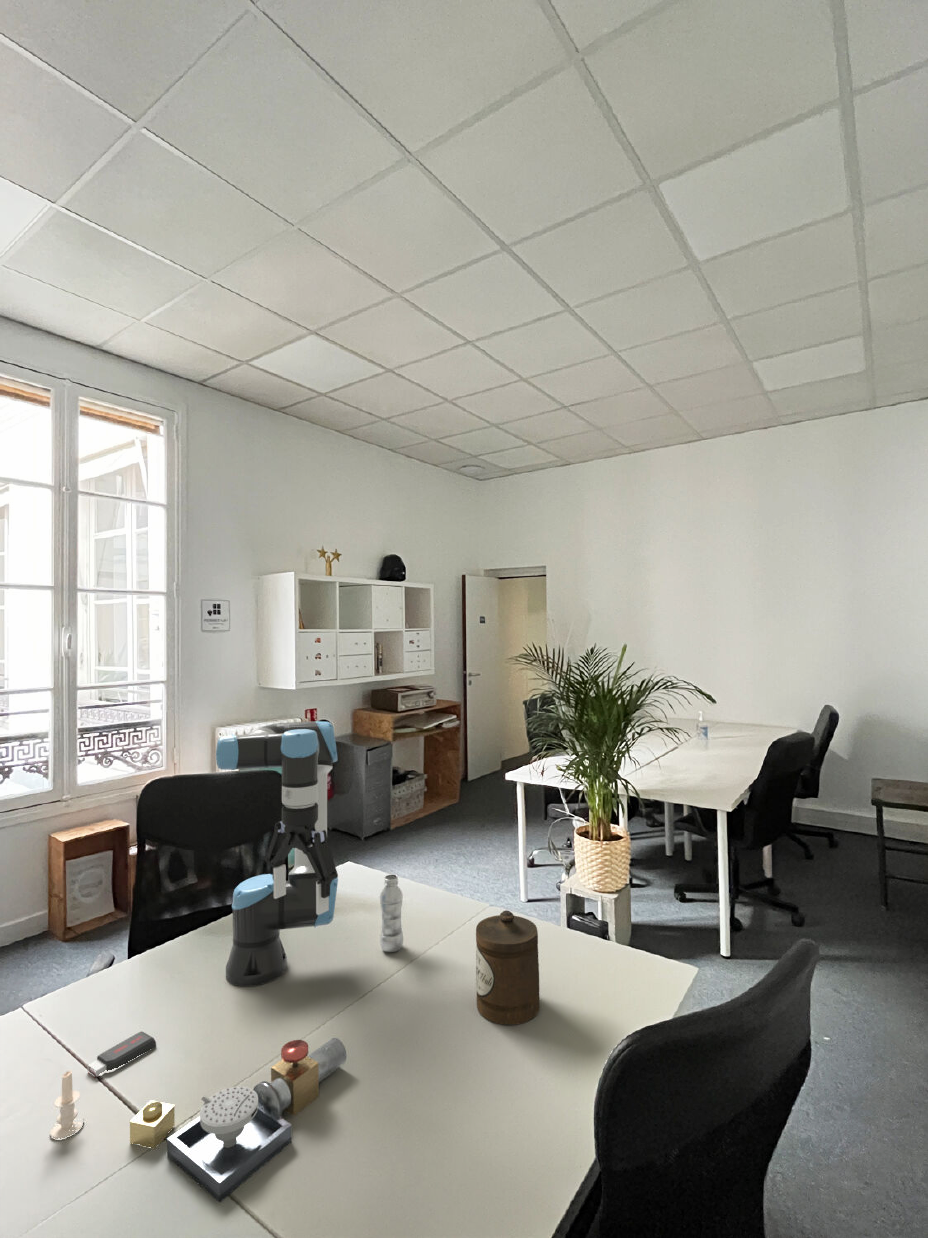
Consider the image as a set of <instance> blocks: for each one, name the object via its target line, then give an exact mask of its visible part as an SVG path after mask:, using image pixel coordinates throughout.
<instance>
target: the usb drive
mask: <svg viewBox="0 0 928 1238" xmlns="http://www.w3.org/2000/svg"><path fill="white" fill-rule="evenodd" d="M156 1042H157V1041H156V1040H155V1038H154V1037H153V1036H151V1035H149V1034H148V1033H146V1032H144V1031H139V1032H137V1033H136V1034H133V1035H131V1036H130V1037H129V1038H126V1039H124V1040H123V1041H121V1042H119V1043H118V1044H115V1045H114V1046H111V1048H108V1049H107V1050H105V1051H103V1052H102V1053H100V1054H98V1056H96V1060H95V1061H92V1062H91V1063H89V1064H87V1071H88V1070H89V1069H90V1068H92V1069H93V1070H95V1071H96V1076H97V1075H99V1074H100V1073H102V1072H104V1071H105V1070H107V1071H108V1070H112V1069H114V1068H118V1067H119V1066H121V1065H123V1064H126V1063H128V1061H130V1060H132V1059H134V1058H136V1057H137V1056H139V1055H141V1054H143V1053H145V1052H147V1051H148V1052H150V1051H151V1050H150V1049H152V1050H154V1049H155V1048H156V1047H157V1043H156ZM149 1050H150V1051H149ZM148 1052H147V1053H148ZM145 1054H146V1053H145ZM143 1055H144V1054H143ZM141 1056H142V1055H141ZM136 1059H137V1058H136ZM128 1064H129V1063H128ZM126 1065H127V1064H126Z"/></svg>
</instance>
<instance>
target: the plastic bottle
mask: <svg viewBox="0 0 928 1238" xmlns="http://www.w3.org/2000/svg"><path fill="white" fill-rule="evenodd" d="M398 878H399V877H398V875H397V874H387V875H385V877H384V882H383V883H384V884H383V885H384V888H383V889H382V891H381V892H380V895H379V902H380V903H379V904H380V908H381V909H380V910H381V929H380V930H381V932H380V937H379V945H380V948H381V949H382V950H383V952H386V953H396V952H398V951H400V950H401V949H402V947H403V945H404V933H403V927H402V908H403V907H402V906H403V896H404V895H403V892H402V890H401V888H400V887H399V886H398V885H399V879H398Z"/></svg>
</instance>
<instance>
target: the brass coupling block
mask: <svg viewBox="0 0 928 1238" xmlns="http://www.w3.org/2000/svg"><path fill="white" fill-rule="evenodd" d="M173 1126H174V1127H175V1104H171V1103H165V1102H161V1101H156V1100H149V1102H147V1103H146V1105H144V1107H143V1108H141V1110H140V1111H138V1113H137V1114H135V1116H134V1117H132V1119H131V1120H130V1121H129V1144H130V1143H131V1144H130V1145H133V1144H140V1145H142V1146H146V1147H151V1148H154V1149H153V1150H156V1149H157V1147H158V1146H159V1145H160V1144H161V1143H162V1142H163V1141H164V1139H165V1138H166V1137H167V1136H166V1134H168V1132H169V1131H170V1130H171V1129H172V1128H173ZM173 1129H174V1128H173ZM173 1129H172V1130H173ZM172 1130H171V1131H172ZM171 1131H170V1132H171ZM168 1135H169V1134H168ZM132 1143H133V1144H132ZM158 1144H159V1145H158ZM157 1145H158V1146H157ZM142 1146H141V1147H142ZM156 1146H157V1147H156ZM146 1147H145V1148H146Z"/></svg>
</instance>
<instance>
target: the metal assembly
mask: <svg viewBox="0 0 928 1238" xmlns="http://www.w3.org/2000/svg"><path fill="white" fill-rule="evenodd" d="M280 1049H281V1050H280V1058H281V1060H279V1061H278V1062H276V1063H275V1064H274V1065H272V1066H270V1076H271V1077H270V1082H268V1081H266V1080H265V1081H264V1080H263V1081H260V1082H259V1083H257V1084H255V1086H254V1087H253V1088H252V1090H254V1091H255V1092H256V1093H257V1095H258V1110H257V1113H256V1115H255V1116H254V1118H253V1119H252V1120H251V1121H250V1122H249V1123H248V1124H246V1125H245V1126H244V1130H243V1132H242V1133H241V1134H240V1135H239V1136H238V1137H237V1141H236V1144H235V1145H234V1146H232V1147H229V1148H225V1147H224V1146H223V1141H219V1140H218V1139H216V1137H215V1134H212V1133H209V1132H206V1131H205V1130H204V1129H203V1128H202V1127H201V1124H200V1115H199V1116H198V1117H196V1118H195V1119H193V1120H192V1121H190V1122H189V1123H188V1124H186V1125H185V1126H183V1127H181V1129H179V1130H177V1131H176V1132H175V1133H173V1134H172V1135H170V1136H169V1137H167V1138H166V1141H167V1142H166V1147H167V1148H166V1152H167V1155H166V1157H167V1158H168V1159H170V1161H172V1162H173V1164H175V1165H177V1166H178V1167H179V1168H180V1169H181V1170H182V1171H183V1172H184V1173H185V1174H186V1175H187V1176H189V1177H190V1178H191V1179H192V1180H194V1181H195V1182H196V1183H197V1184H198V1185H199V1186H200V1187H201V1188H203V1189H204V1190H205V1191H206V1192H207V1193H208V1194H209V1195H210V1196H211V1197H213V1198H214V1199H215V1200H216V1201H217V1202H219V1203H221V1202H222V1201H224V1199H226V1198H227V1197H228V1196H229V1195H231V1194H232V1193H233V1192H234V1191H235V1190H237V1189H238V1188H239V1187H240V1186H241V1185H243V1184H244V1183H245V1182H246V1181H247V1180H249V1178H251V1177H252V1176H253V1175H254V1174H255V1173H257V1172H258V1171H259V1170H260V1169H261V1168H263V1167H264V1166H265V1165H266V1164H267V1163H269V1162H270V1161H271V1160H272V1159H273V1158H275V1157H276V1156H277V1155H278V1154H279V1153H281V1152H282V1151H283V1150H284V1149H285V1148H287V1147H288V1146H289V1145H290V1144H291V1143H292V1142H293V1141H292V1139H293V1138H292V1135H293V1134H292V1124H291V1123H290V1122H289V1121H287V1120H285V1119H284V1118H283V1117H282V1112H283V1111H284V1112H286V1113H288V1114H289V1115H291V1116H292V1117H295V1116H296V1115H297V1114H298V1113H300V1112H301V1111H303V1110H304V1109H305V1108H306V1107H308V1105H310V1104H312V1103H313V1101H315V1100H316V1099H317V1098H319V1097H320V1096H319V1094H320V1093H319V1092H320V1090H319V1089H320V1088H319V1087H320V1086H319V1083H321V1081H323V1080H324V1079H325V1078H327V1077H328V1076H329V1075H331V1074H332V1073H333V1072H335V1071H337V1069H339V1068H340V1067H341V1066H342V1065H343V1064H345V1063H346V1061H347V1054H348V1053H347V1049H346V1047H345V1045H344V1043H343V1042H342V1040H340V1039H339V1038H338V1037H332V1038H331V1039H329V1040H328V1041H327V1042H325V1043H324V1044H323V1045H321V1046H320V1047H318V1048H317V1049H316V1050H314V1051H313V1052H312V1053H310V1054H309V1043H308V1042H307V1041H305V1040H302V1039H294V1040H291V1041H288V1042H287V1043H285V1044H284V1045H282V1047H281V1048H280ZM308 1054H309V1055H308Z"/></svg>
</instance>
